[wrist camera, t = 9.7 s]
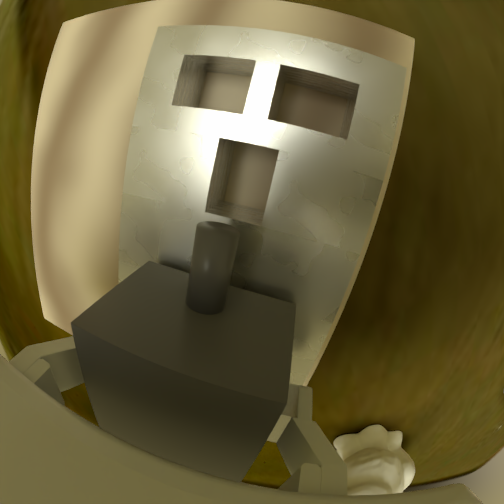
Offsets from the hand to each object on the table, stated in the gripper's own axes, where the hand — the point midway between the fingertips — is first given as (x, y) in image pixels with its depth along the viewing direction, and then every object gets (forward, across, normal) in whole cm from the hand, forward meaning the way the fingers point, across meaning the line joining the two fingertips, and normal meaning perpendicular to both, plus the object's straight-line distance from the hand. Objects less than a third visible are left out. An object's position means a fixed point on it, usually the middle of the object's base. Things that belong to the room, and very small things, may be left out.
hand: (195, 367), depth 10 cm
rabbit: (+6, -14, +12) cm, 20 cm away
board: (+6, +4, -4) cm, 9 cm away
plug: (+3, 0, -1) cm, 3 cm away
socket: (+4, 0, -4) cm, 6 cm away
